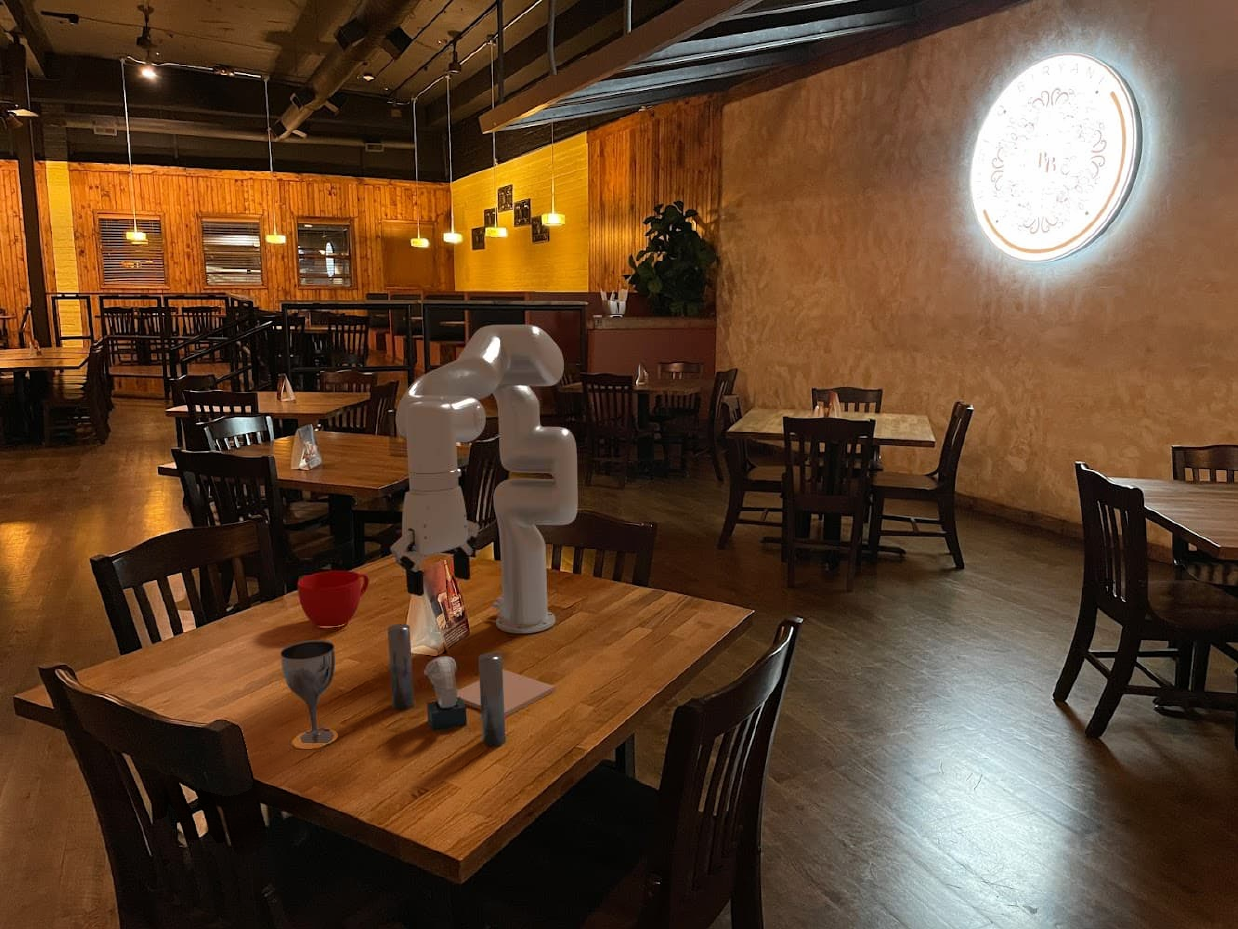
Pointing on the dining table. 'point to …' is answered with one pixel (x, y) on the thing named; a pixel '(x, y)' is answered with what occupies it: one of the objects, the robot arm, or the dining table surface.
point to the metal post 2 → (492, 699)
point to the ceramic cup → (331, 596)
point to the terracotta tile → (509, 692)
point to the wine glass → (310, 679)
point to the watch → (444, 696)
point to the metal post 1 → (401, 666)
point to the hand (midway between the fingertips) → (439, 586)
